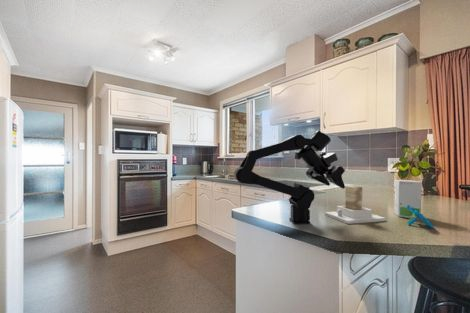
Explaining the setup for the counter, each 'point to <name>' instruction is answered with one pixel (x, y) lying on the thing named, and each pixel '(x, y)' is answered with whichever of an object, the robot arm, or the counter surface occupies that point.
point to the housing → (354, 215)
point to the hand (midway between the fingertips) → (336, 186)
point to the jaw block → (353, 197)
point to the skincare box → (407, 197)
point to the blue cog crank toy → (417, 217)
